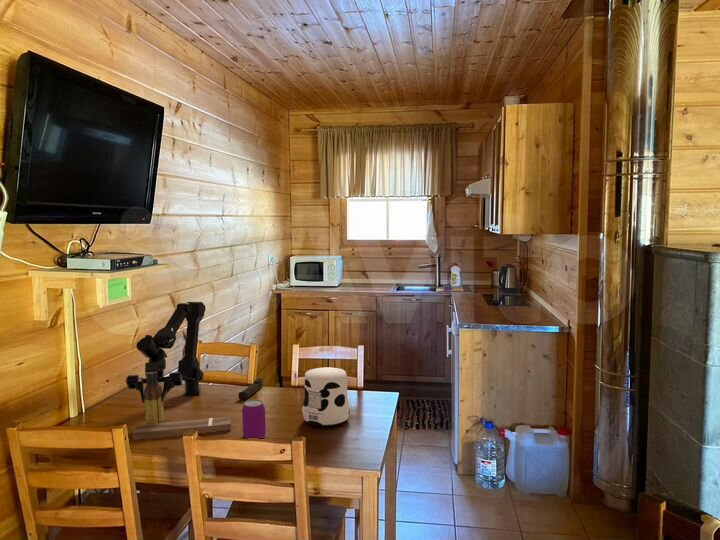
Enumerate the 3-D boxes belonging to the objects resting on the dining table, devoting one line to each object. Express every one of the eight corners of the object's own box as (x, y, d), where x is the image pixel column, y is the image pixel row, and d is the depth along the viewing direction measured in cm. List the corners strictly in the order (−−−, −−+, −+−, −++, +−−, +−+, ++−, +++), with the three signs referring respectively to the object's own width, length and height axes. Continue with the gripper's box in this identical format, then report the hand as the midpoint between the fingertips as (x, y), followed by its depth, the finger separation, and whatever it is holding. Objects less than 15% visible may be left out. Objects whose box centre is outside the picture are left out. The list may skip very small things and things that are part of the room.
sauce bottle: (159, 420, 193) (158, 367, 191) (167, 425, 188) (165, 371, 187) (142, 425, 188) (140, 371, 186) (149, 430, 184) (147, 375, 182)
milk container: (346, 411, 201) (345, 365, 199) (353, 428, 184) (352, 378, 182) (301, 414, 198) (300, 367, 196) (304, 432, 181) (303, 381, 179)
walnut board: (137, 431, 182) (136, 424, 182) (231, 423, 189) (231, 416, 189) (133, 440, 176) (132, 432, 175) (230, 430, 182) (230, 423, 182)
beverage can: (269, 433, 180) (268, 399, 179) (260, 442, 173) (259, 407, 172) (248, 431, 182) (247, 398, 181) (239, 440, 175) (237, 405, 173)
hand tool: (246, 401, 213) (246, 390, 212) (238, 400, 214) (237, 389, 214) (268, 387, 231) (267, 377, 231) (260, 386, 232) (259, 376, 232)
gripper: (125, 353, 188) (120, 393, 178) (180, 350, 192) (177, 389, 182) (131, 369, 196) (126, 407, 186) (183, 366, 200) (181, 403, 190)
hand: (152, 401), depth 186 cm, fingers closed on sauce bottle, 6 cm apart
